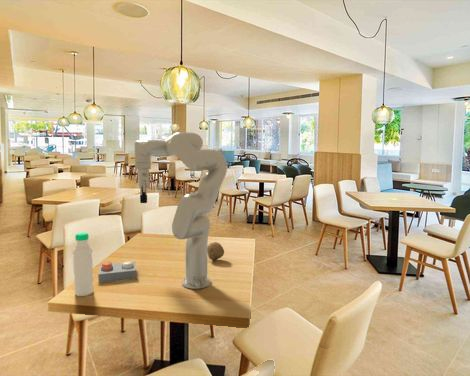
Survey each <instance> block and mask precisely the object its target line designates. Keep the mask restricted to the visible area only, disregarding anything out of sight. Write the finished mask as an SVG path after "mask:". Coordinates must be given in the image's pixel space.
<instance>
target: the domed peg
mask: <svg viewBox="0 0 470 376" xmlns="http://www.w3.org/2000/svg"><path fill="white" fill-rule="evenodd" d="M132 262H133V261H124V262H122V263H123V269H127V268H133V263H132Z"/></svg>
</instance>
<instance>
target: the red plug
mask: <svg viewBox="0 0 470 376" xmlns="http://www.w3.org/2000/svg"><path fill="white" fill-rule="evenodd" d="M112 264H113V263H112V262H109V261H108V262H103V263H102V264H101V265H102V271H107V270H112Z"/></svg>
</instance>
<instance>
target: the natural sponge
mask: <svg viewBox="0 0 470 376" xmlns="http://www.w3.org/2000/svg"><path fill="white" fill-rule="evenodd" d="M224 255H225V250H224V248H223V245H222V244H221V243H219V242H218V241H217V242H216V241H213V242H211V243H208V249H207V258H208V259H210V260H212V261H214V262H215V261H217V260H218V259H220V258H222V257H224Z"/></svg>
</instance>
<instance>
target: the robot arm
mask: <svg viewBox="0 0 470 376" xmlns="http://www.w3.org/2000/svg"><path fill="white" fill-rule="evenodd" d="M203 141H204V140H203V138H202V137H201V135H200V134H198V133H195V132H186V131H185V132H184V131H183V132H182V131H178V132H175V133H173V134H172V135H170V136H169V137H167V139H164V140H162V139H161V140H159V139H145V140H143V139H142V140H139V139H138V140H135V142H134V169H135V170H137V184H138V185H137V186H138V189H139V190H140V195H139V202H140V204H147V203H148V194H147V192H148V191H147V190H150V188H151V184H150V183H151V182H150V170H151V169H152V157H165V156H167V157H168V156H175V155H176V157H177V158H178V159H179V160H180V161H181V162H182V163H183V164H184V166H185V167H186V168H187V169H189V170H190V171H193V172H200V171H201V172H202V171H207V172H206V174H204V176H203V177H202V178H201V180H200V182H199V186H198V189H197V190H196V191H195V192H192V193H191V192H190V193H187V194H185V195H183V196H182V197H181V198H180V200H179V202H178V204H177V208H176V210H175V214H174V216H173V220H172V224H171V232H172V234H173V236H174V238H176V239H177V240H186V243H185V277H184V278H183V279H182V280H181V282H182V283H181V284H182V286H183V287H184V288H186V289H191V290H200V289H204V288H207V287H209V286H210V285H211V283H212V281H211V278H210V277H208V252H207V249H208V245H209V241H208V240H209V233H210V228H211V221H210V218H209V216H207V214H209V213H211V212H212V210H213V209H214V207H215V204H216V201H217V198H218V196H219V194H220V193H219V192H220V189H221V186H222V184H223V183H224V182H223V181H224V180H225V178H226V175H227V171H228V163H227V159H226V157H225V155H224V154H223V152H221V151H219V150H217V149H210V148H209V149H208V148H207V149H202V147H203V143H204V142H203Z"/></svg>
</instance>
